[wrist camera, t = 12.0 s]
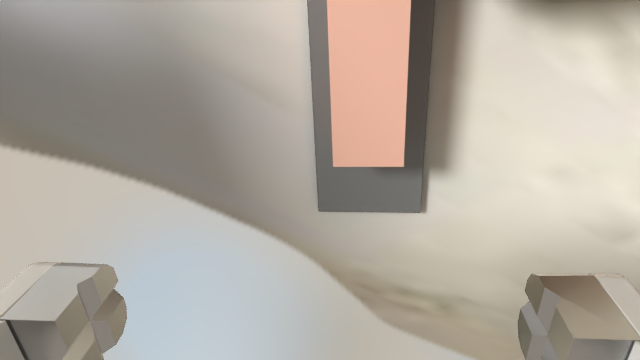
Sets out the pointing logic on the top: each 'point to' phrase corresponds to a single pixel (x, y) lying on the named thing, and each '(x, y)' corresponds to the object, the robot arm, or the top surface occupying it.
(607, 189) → the top surface
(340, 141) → the pink rectangular block
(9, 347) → the robot arm
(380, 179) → the mat
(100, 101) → the top surface
